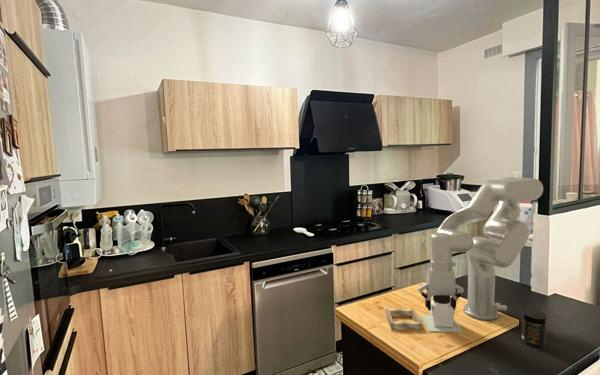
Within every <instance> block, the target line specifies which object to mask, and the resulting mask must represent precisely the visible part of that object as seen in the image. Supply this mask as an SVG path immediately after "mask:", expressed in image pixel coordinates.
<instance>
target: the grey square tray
mask: <svg viewBox="0 0 600 375" xmlns="http://www.w3.org/2000/svg"><path fill="white" fill-rule="evenodd" d="M385 317H386V320H387V323H388V325H389V328H390V330H393V331H394V330H395V331H398V330H400V331H422V330H423V323H422V322H421V319H420V317H419V315H418V314H417V313H416V310H415V309H414V308H386V309H385ZM393 317H412V320H413V321H394V319H393Z"/></svg>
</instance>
